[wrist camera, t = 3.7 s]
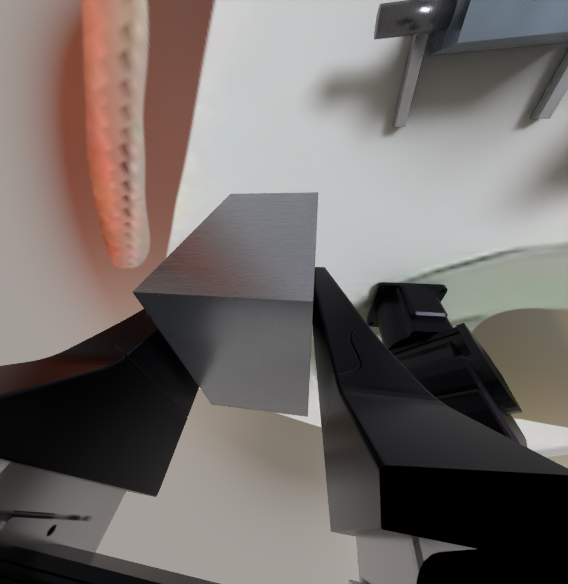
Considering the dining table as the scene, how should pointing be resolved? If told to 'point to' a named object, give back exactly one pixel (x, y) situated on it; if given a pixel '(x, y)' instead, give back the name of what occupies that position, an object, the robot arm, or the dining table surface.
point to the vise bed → (559, 84)
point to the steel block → (243, 301)
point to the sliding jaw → (475, 23)
